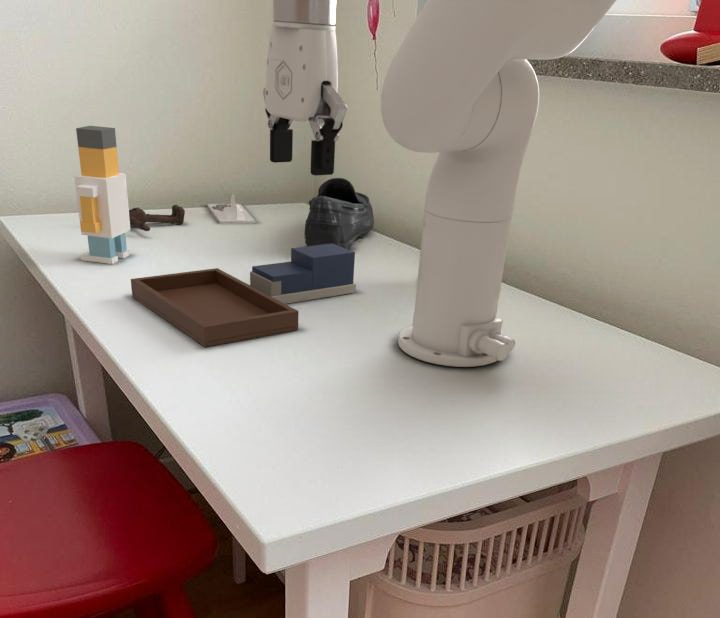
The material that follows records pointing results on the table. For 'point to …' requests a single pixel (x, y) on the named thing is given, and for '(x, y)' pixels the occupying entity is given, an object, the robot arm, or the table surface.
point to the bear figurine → (155, 217)
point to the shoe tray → (214, 306)
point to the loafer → (338, 215)
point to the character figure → (101, 195)
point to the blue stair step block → (307, 274)
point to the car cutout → (230, 213)
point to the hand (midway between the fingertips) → (300, 168)
